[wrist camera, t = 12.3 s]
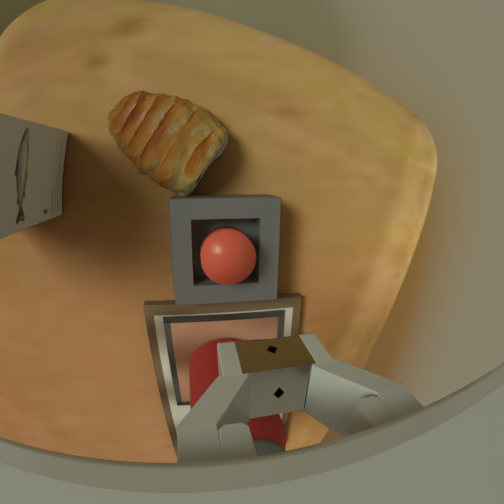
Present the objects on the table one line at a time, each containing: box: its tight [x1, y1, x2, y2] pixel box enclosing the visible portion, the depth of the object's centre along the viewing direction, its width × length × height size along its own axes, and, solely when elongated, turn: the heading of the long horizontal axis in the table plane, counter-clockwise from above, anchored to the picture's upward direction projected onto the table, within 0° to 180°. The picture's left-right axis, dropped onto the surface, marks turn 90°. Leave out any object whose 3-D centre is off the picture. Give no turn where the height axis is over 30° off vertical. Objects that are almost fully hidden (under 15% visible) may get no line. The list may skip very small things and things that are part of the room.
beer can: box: [189, 338, 286, 456], centre depth 21 cm, size 7×7×12 cm
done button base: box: [169, 194, 281, 305], centre depth 23 cm, size 8×8×3 cm
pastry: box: [108, 91, 229, 197], centre depth 20 cm, size 9×7×4 cm
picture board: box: [144, 293, 302, 456], centre depth 28 cm, size 22×14×1 cm, turn 179°
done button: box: [200, 226, 256, 285], centre depth 21 cm, size 4×4×2 cm
